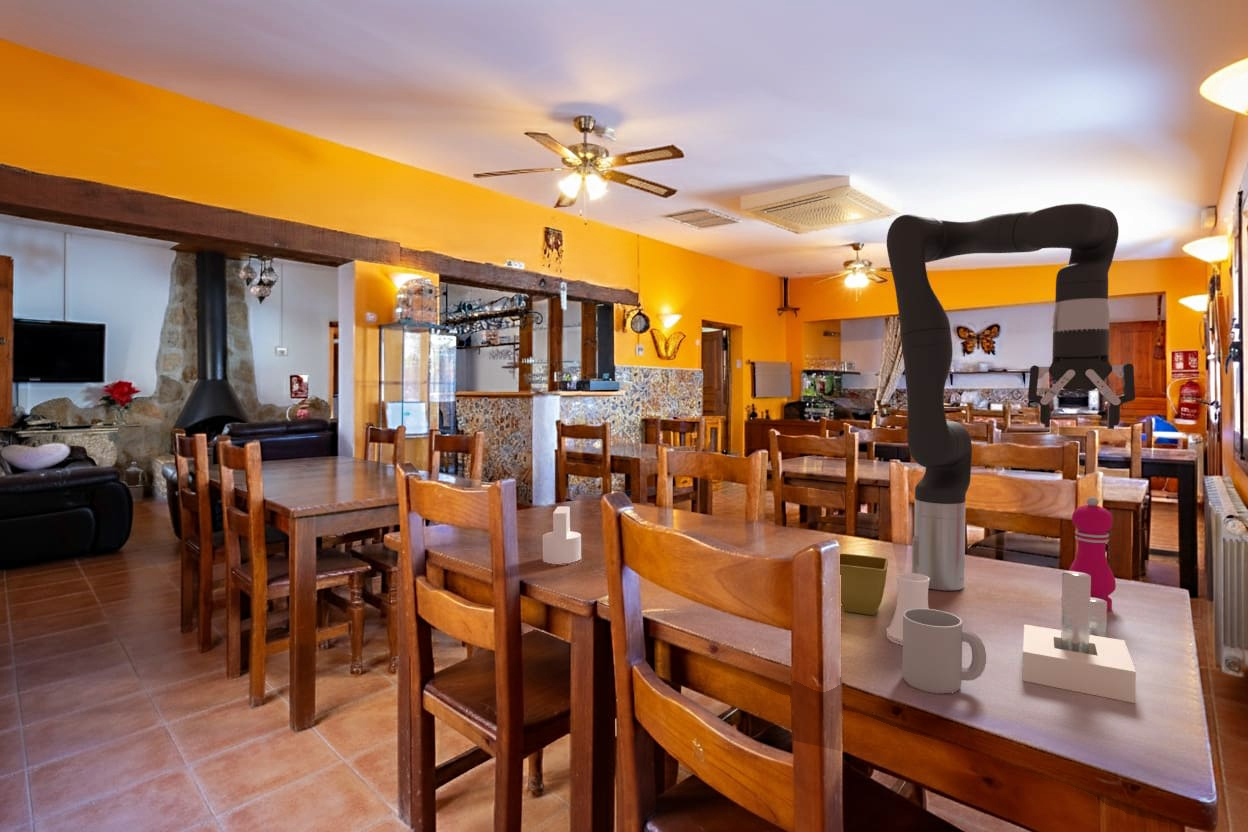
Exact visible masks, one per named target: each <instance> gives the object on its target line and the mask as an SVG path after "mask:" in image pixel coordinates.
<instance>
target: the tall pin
mask: <svg viewBox="0 0 1248 832" xmlns="http://www.w3.org/2000/svg"><path fill="white" fill-rule="evenodd" d="M1061 576H1062V577H1061V579H1062V580H1061V582H1062V585H1061V586H1062V587H1061V621H1060V622H1061V625H1060V627H1061V628H1060V630H1061V649H1062V650H1068V651H1074V652H1079V653H1085V654H1089V632H1090V593H1091V576H1090V575H1089V574H1086V573H1082V572H1075V571H1069V570H1067V571H1065V570H1064V571H1062V573H1061Z"/></svg>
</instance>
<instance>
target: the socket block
mask: <svg viewBox="0 0 1248 832" xmlns="http://www.w3.org/2000/svg"><path fill="white" fill-rule="evenodd" d="M1136 673H1137V672H1136V669H1135V666H1134V663H1133V660H1132V658H1131V655H1130V652H1129V649H1128V647H1127V644H1126V641H1125V639H1118V638H1110V637H1107V636H1106V637H1100V636H1093V635H1089V654H1085V653H1079V652H1074V651H1068V650H1062V649H1061V629H1055V628H1049V627H1042V626H1037V625H1030V624H1023V649H1022V682H1027V683H1032V684H1038V685H1042V686H1048V687H1052V688H1058V689H1063V690H1067V691H1071V692H1072V691H1073V692H1076V693H1081V694H1082V693H1083V694H1085V695H1087V694H1088V695H1092V696H1096V697H1097V696H1098V697H1102V698H1107V699H1112V700H1118V701H1122V702H1126V703H1132V704H1136V683H1137V682H1136V677H1137V674H1136Z"/></svg>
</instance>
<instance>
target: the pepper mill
mask: <svg viewBox="0 0 1248 832" xmlns="http://www.w3.org/2000/svg"><path fill="white" fill-rule="evenodd" d="M1113 518H1114V517H1113V515H1112V514H1111V512H1110V511H1109V510H1108V509H1106V508H1105V507H1102V506H1100V505H1099V499H1098V498H1097V497H1095V496H1089V497H1087V498H1086V505H1085V504H1084V505H1081V506H1078V507H1077V508H1075V510H1073V513H1072V516H1071V520H1072V524H1073V525H1074V526H1075V528H1076V530H1075V531H1074V533H1075V536H1074V538H1075V539H1076V540H1077V553H1076V555H1075V558H1074V560H1073V561H1072V564H1071V565H1070V567H1069V569H1068V571H1075V572H1082V573H1086V574H1089V575H1090V576H1091V593H1090V597H1093V598H1098V599H1102V600H1105V601H1106V602H1107V612H1110V611H1111V610H1112V608H1113V599H1112V598H1111V597H1109V596H1110V595H1111V594H1113V593H1114V592H1115V591H1116V588H1117V586H1116V585H1117V584H1116V578H1115V576H1114V573H1113V571H1112V569H1111V567H1110V565H1109V562H1108V559H1107V552H1106V546H1107V543H1108V542H1109V541H1110V539H1109V536H1110V534H1109V533H1108V531H1109V530H1111V528H1112V527H1113V523H1114V519H1113Z"/></svg>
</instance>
